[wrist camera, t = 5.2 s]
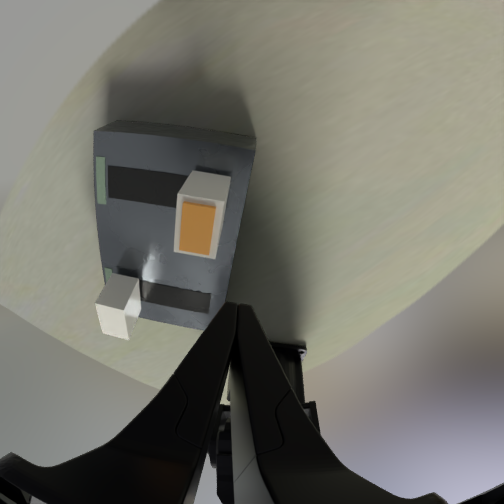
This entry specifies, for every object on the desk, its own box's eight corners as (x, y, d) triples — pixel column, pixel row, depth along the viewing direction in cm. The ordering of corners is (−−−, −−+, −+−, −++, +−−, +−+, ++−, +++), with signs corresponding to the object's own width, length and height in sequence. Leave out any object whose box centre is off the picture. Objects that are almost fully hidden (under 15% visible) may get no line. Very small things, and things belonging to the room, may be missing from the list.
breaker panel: (256, 138, 16) (255, 150, 14) (223, 305, 24) (219, 333, 22) (116, 120, 16) (93, 131, 13) (122, 285, 24) (109, 310, 21)
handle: (138, 278, 18) (123, 310, 16) (141, 309, 20) (129, 340, 18) (112, 272, 18) (95, 303, 16) (116, 303, 20) (102, 333, 18)
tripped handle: (231, 176, 14) (223, 203, 12) (222, 227, 16) (214, 261, 13) (192, 170, 14) (176, 195, 12) (187, 220, 16) (172, 254, 13)
